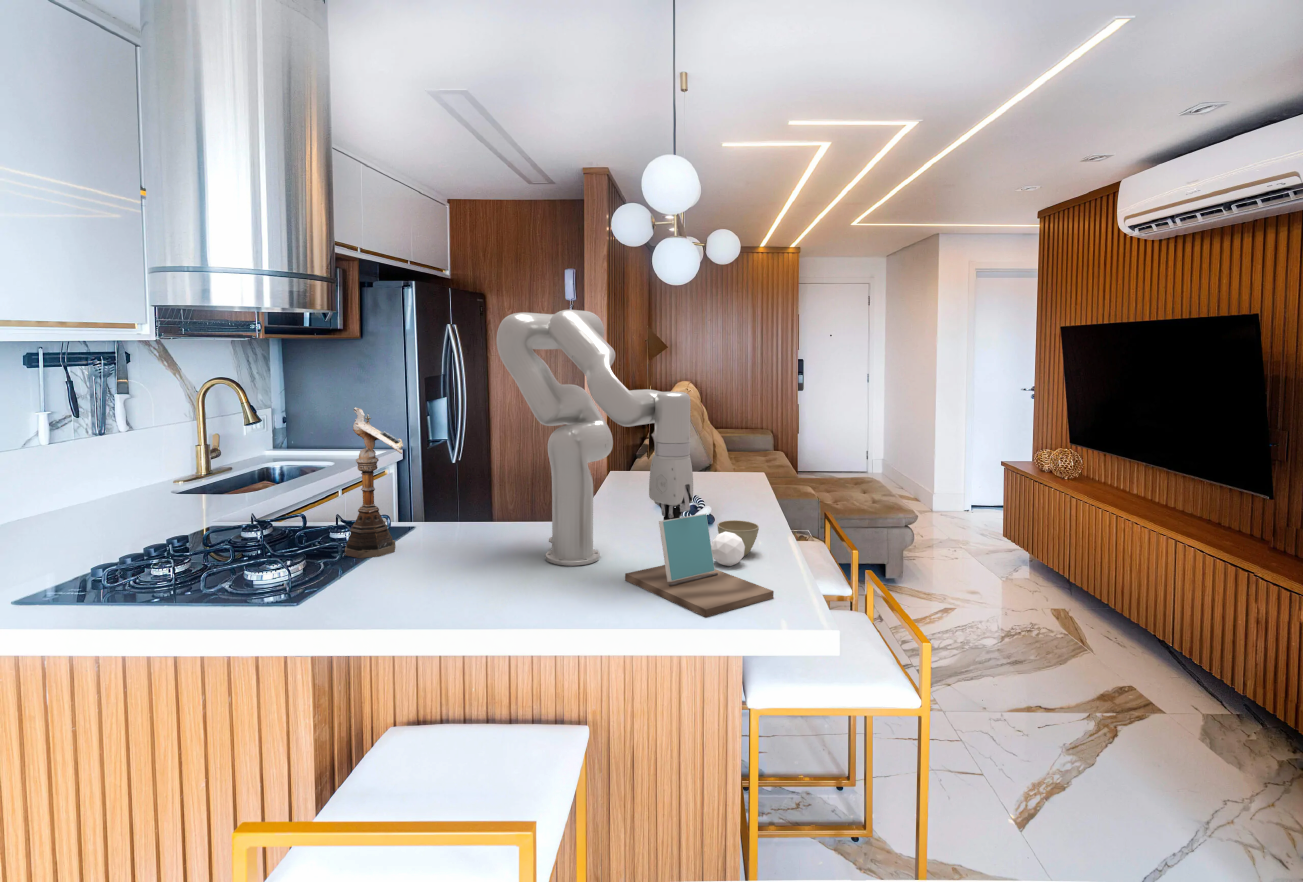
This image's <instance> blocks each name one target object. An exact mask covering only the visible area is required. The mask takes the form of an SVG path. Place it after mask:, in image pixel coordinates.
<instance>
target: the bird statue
mask: <svg viewBox="0 0 1303 882" xmlns="http://www.w3.org/2000/svg"><path fill="white" fill-rule="evenodd" d="M353 412H354V413H355V414H356V418H355V419H354V422H353V424H352V425H353V426H352V431H353V432H354V433H355V435H357V436H358V437H360V438H362V439H363V444H364V446H365V448H362V449H361V450H360V451H359V453H358V458H356V459H355V463H357V470H358V471H359V472H361V473H360V474H361V481H362V483H361V484H362V485H361V486H362V487H361V489H360V491H362V505H361V506H360V507H359V508H358V509H357V512H358V514H357V517H356V519H355V522H354V523H353V524H352V526H351V528H350V530H349V532H350V534H349V537H348V540H347V542H346V546H345V548H344V555H345V556H346V557H347V556H348V557H353V558H357V559H364V558H377V557H379V558H380V557H384V556H385V555H389V554H392V553H395V550H396V540H395V539H393V536H392V535H391V533H390V530H389V528H388V527H389V525H387V523H386V521H385V520H384V519H383V517H382V515H381V513H380V508H379V507H378V506H377V505H376V504H375V494H374V493H375V490H376V488H375V486H374V474H375V471H377V470H378V462H379V458H378V457H377V456H376V454H377V453H376V451H375V450H374V449H375V446H376V441H382V442H383V443H384V444H386V445H388V446H389V447H390V448H392V449H394V450H395V451H396V452H397V453H399V454H402V453H403V450H402V448H403V447H404V444H403V441H402V439H401V438H397V437H395V436H393V435H392V434H390V433H389V432H387V431H385V430H384V431H381V430H380V429H378V428H376V427H374V426H372V425H371V423H370V420H371V419H372V417H370V414H369V413H367V414H366V415H365V413H364V410H363V409H362V408H359V407H354V408H353ZM365 420H366V421H365ZM345 553H346V554H345Z"/></svg>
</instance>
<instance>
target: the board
mask: <svg viewBox="0 0 1303 882" xmlns="http://www.w3.org/2000/svg"><path fill="white" fill-rule="evenodd" d="M624 575H625V576H624V577H625V578H624V580H625V581H626V582H628V583H630V584H633V585H635V586H636V587H639V588H642V589H643V590H645V591H648V592H650V593H652V594H654V595H656V596H659V597H660V598H662V599H665V600H667V601H669V602H672V603H673V604H676V605H678V606H680V607H682V608H685V609H687V610H689V611H691V612H693V613H695V614H697V615H700V616H702V617H704V618H708V617H709V618H710V617H713V616H715V615H719V614H722V613H726V612H729V611H730V612H731V611H733V610H736V609H739V608H743V607H747V606H750V605H754V604H757V603H761V602H765V601H768V600H771V599H774V592H775V591H774V590H772V589H769V588H768V587H765V586H761V585H759V584H756V583H754V582H751V581H748V580H746V579H742V578H741V577H738V576H734V575H732V574H730V573H726V572H724V571H721V570H718V569H716V568H715V571H714V572H710V573H706V574H701V575H697V576H693V577H689V578H684V579H680V580H676V581H672V582H667V575H666V568H665V564H663V565H660V566H654V567H650V568H645V569H640V570H635V571H632V572H627V573H624Z"/></svg>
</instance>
